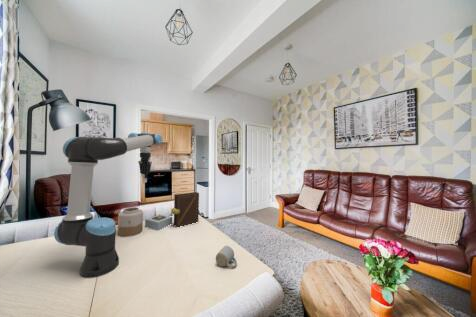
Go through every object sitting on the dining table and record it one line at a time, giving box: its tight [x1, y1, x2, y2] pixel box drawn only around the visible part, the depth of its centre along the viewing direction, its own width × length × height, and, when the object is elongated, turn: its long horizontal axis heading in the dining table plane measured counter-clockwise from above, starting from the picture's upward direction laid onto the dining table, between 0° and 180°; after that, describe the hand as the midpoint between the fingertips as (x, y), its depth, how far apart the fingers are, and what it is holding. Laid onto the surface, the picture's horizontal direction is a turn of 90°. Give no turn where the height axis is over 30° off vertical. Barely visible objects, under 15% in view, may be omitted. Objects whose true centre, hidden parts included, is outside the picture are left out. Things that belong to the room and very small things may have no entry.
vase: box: [117, 206, 144, 238], centre depth 129 cm, size 15×15×17 cm
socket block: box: [144, 214, 173, 231], centre depth 142 cm, size 14×14×7 cm
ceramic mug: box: [215, 245, 238, 269], centre depth 94 cm, size 11×8×8 cm
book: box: [171, 191, 200, 228], centre depth 146 cm, size 22×8×25 cm, turn 130°
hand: (144, 182), depth 140 cm, fingers closed
